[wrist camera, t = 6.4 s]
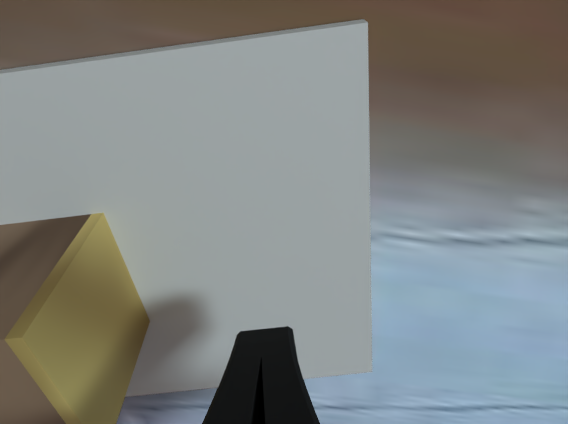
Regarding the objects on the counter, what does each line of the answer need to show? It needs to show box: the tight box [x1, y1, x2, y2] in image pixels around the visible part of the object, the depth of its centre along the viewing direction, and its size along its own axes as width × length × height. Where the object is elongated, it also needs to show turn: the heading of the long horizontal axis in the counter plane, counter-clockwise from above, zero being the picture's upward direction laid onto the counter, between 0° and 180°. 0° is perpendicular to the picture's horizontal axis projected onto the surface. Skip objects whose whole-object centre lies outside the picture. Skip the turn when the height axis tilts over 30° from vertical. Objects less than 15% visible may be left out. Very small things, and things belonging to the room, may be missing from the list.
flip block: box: [0, 213, 150, 424], centre depth 12 cm, size 5×5×5 cm
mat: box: [0, 19, 372, 397], centre depth 15 cm, size 26×14×1 cm, turn 97°
